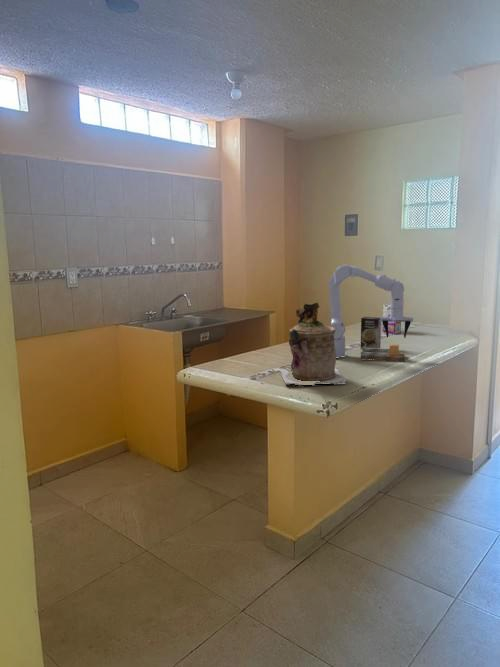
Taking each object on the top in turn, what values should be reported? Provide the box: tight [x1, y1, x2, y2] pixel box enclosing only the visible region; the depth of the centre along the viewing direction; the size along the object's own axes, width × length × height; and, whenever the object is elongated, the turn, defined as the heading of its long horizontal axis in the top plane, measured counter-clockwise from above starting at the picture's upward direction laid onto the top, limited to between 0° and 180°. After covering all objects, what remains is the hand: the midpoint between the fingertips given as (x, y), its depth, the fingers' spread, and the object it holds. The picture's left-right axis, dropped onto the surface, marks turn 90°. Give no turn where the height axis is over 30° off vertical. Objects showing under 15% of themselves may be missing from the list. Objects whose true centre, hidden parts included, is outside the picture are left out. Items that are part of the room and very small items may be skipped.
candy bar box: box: [382, 303, 402, 335], centre depth 291 cm, size 11×5×16 cm, turn 25°
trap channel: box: [360, 348, 406, 363], centre depth 232 cm, size 20×11×4 cm, turn 73°
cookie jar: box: [279, 301, 348, 386], centre depth 200 cm, size 25×25×32 cm
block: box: [388, 343, 400, 356], centre depth 230 cm, size 4×4×4 cm
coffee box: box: [360, 316, 382, 349], centre depth 251 cm, size 9×6×16 cm
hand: (396, 337), depth 229 cm, fingers open, 7 cm apart
